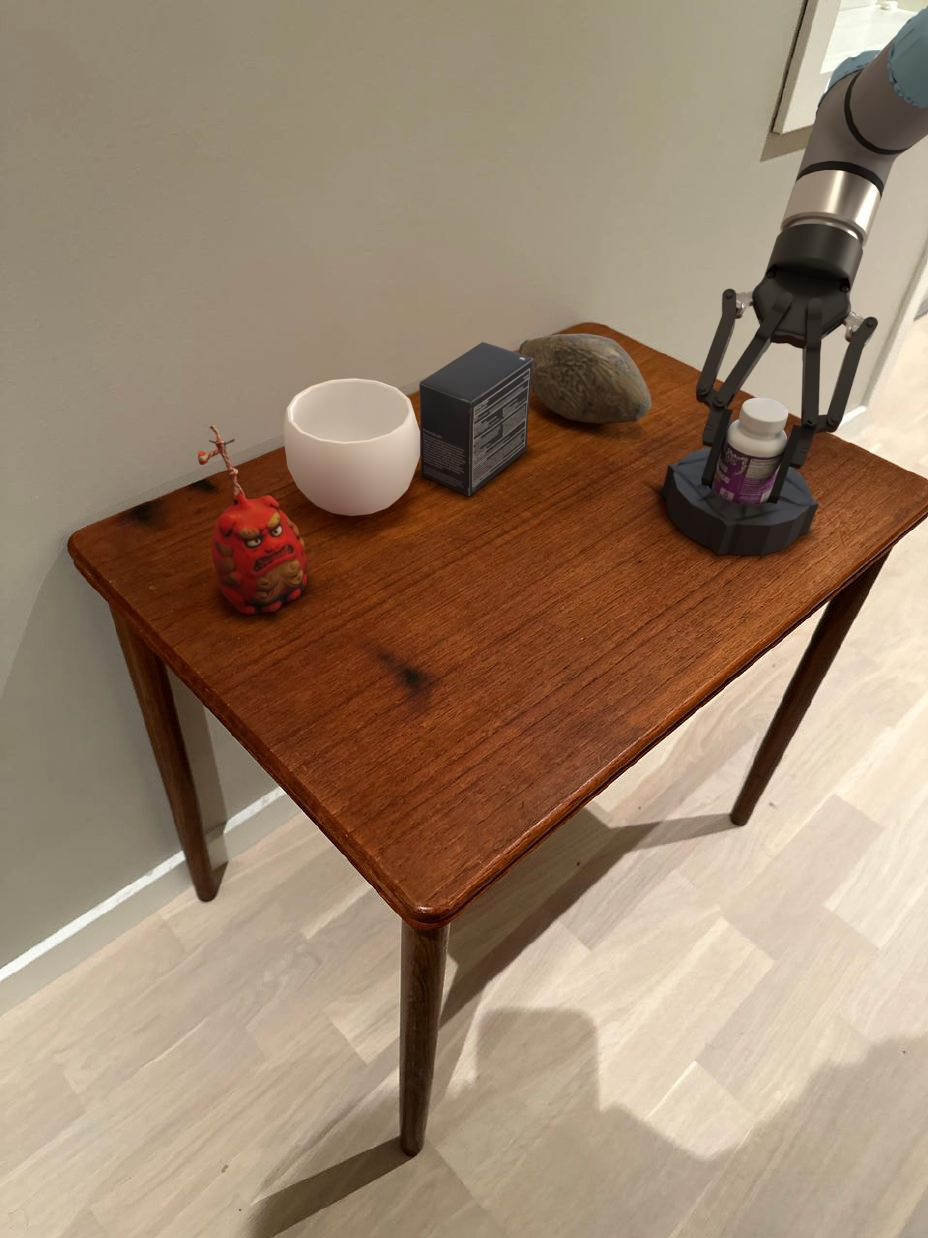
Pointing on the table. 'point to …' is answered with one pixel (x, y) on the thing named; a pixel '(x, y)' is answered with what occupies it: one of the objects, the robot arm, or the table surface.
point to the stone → (587, 378)
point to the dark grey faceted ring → (735, 511)
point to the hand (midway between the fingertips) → (739, 490)
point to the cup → (351, 445)
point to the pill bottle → (752, 453)
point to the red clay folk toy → (255, 548)
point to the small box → (474, 417)
